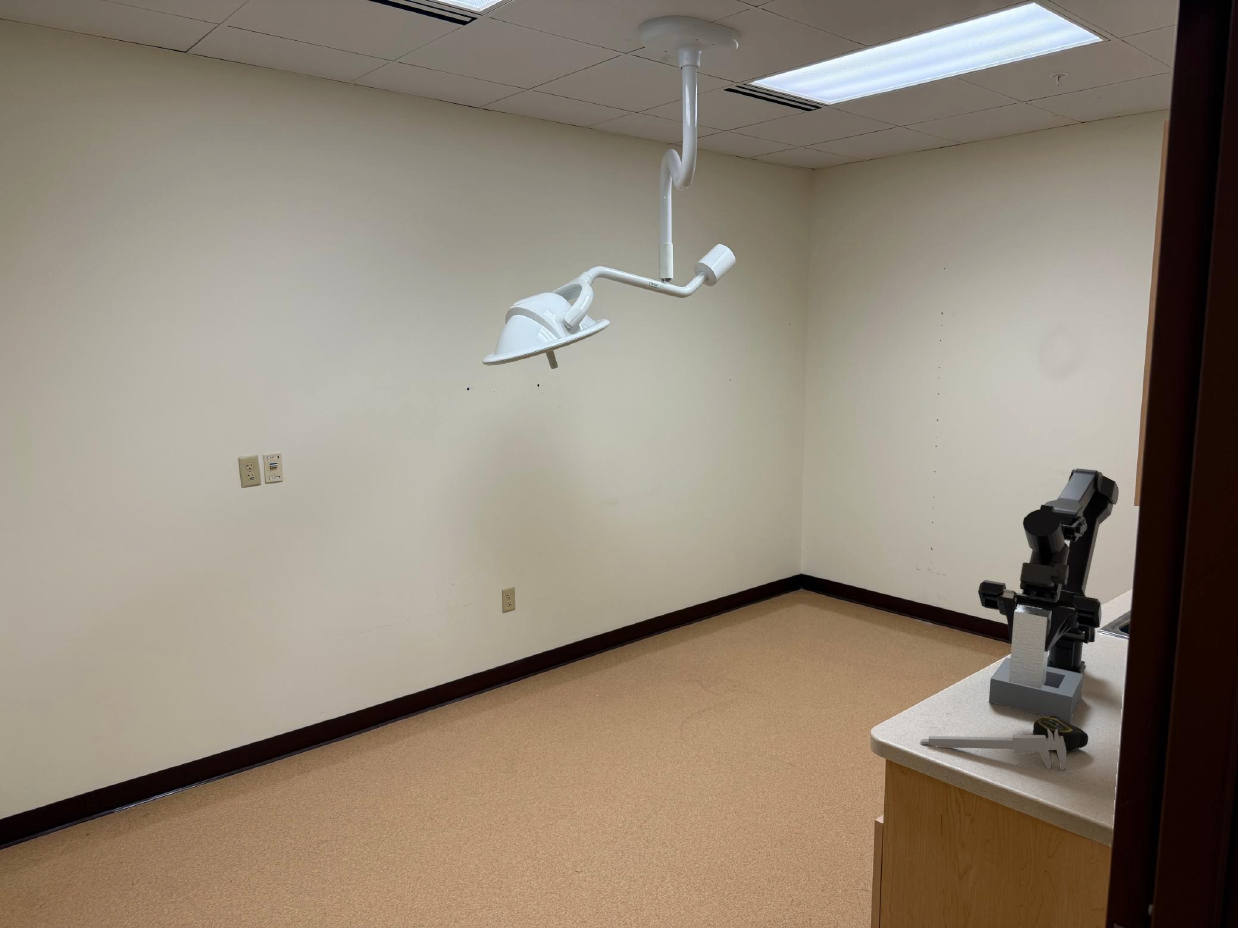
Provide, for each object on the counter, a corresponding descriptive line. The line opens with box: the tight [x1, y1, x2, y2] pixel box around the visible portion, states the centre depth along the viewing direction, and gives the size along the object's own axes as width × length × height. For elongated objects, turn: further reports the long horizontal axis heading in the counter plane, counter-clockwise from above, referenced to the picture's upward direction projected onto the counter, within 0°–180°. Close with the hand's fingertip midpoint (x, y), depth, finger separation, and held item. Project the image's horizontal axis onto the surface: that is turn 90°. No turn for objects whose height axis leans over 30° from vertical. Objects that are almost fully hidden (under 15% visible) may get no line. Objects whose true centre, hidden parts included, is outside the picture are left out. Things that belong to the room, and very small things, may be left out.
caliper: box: [919, 729, 1067, 771], centre depth 132 cm, size 21×1×6 cm, turn 66°
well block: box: [988, 657, 1084, 723], centre depth 152 cm, size 12×13×4 cm
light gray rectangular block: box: [1009, 605, 1052, 689], centre depth 143 cm, size 4×5×12 cm
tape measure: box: [1032, 716, 1089, 753], centre depth 136 cm, size 7×7×4 cm
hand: (1028, 646), depth 141 cm, fingers closed on light gray rectangular block, 5 cm apart
